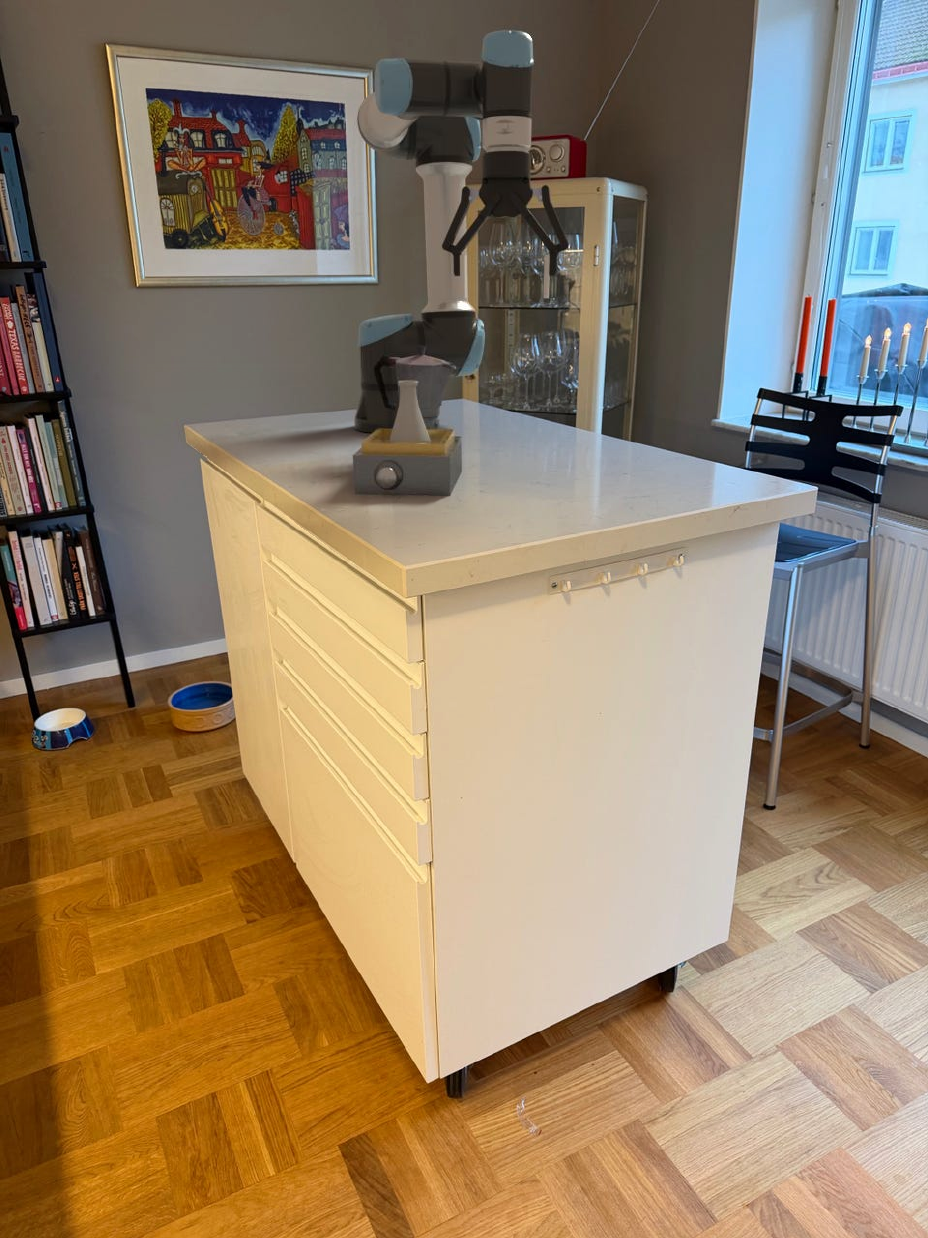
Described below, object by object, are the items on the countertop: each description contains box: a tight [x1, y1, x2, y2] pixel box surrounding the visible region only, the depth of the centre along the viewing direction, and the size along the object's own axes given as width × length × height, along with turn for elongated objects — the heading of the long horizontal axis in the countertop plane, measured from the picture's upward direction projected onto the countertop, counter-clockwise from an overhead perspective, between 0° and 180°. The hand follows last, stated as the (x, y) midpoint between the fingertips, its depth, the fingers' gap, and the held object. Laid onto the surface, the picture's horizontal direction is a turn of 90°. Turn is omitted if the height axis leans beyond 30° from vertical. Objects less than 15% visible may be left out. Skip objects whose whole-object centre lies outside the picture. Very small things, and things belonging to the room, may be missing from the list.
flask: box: [389, 380, 431, 443], centre depth 137 cm, size 7×7×10 cm
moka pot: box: [374, 345, 456, 429], centre depth 155 cm, size 10×15×20 cm, turn 78°
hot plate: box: [352, 428, 463, 496], centre depth 139 cm, size 19×15×8 cm
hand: (504, 298), depth 141 cm, fingers open, 13 cm apart
